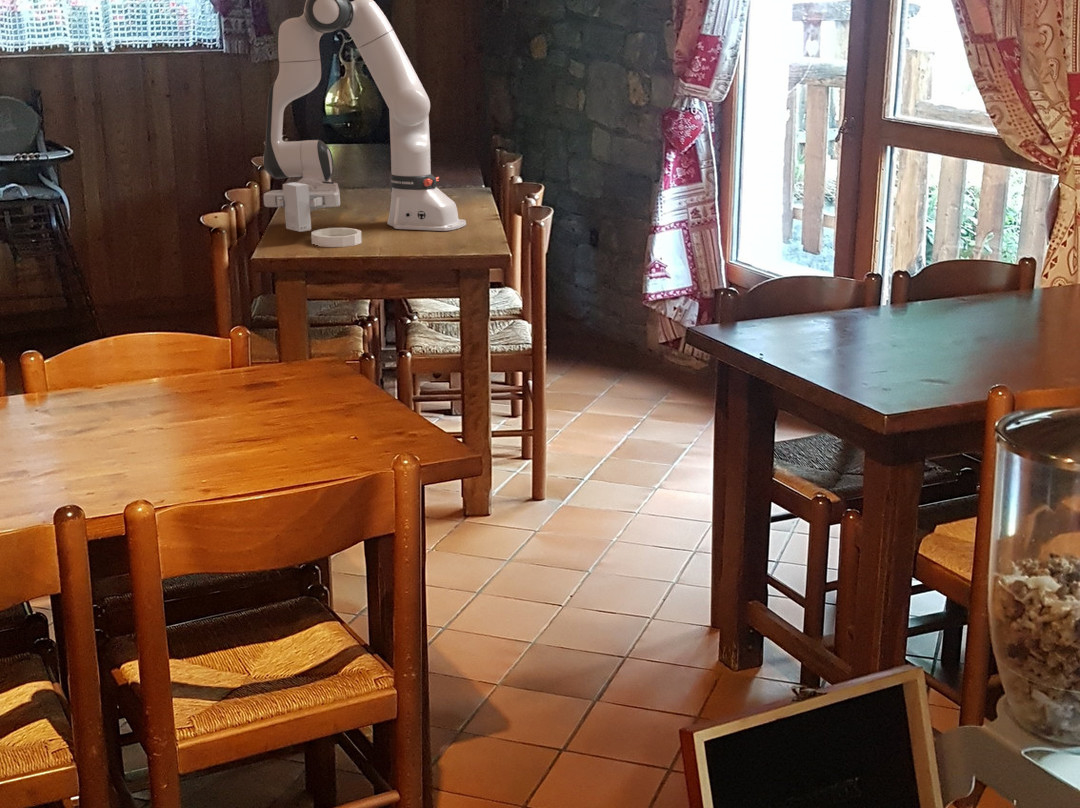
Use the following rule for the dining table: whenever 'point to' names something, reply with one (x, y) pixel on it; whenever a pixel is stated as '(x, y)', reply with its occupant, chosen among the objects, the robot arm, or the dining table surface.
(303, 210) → the skincare box
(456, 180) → the dining table surface
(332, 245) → the ring dish
